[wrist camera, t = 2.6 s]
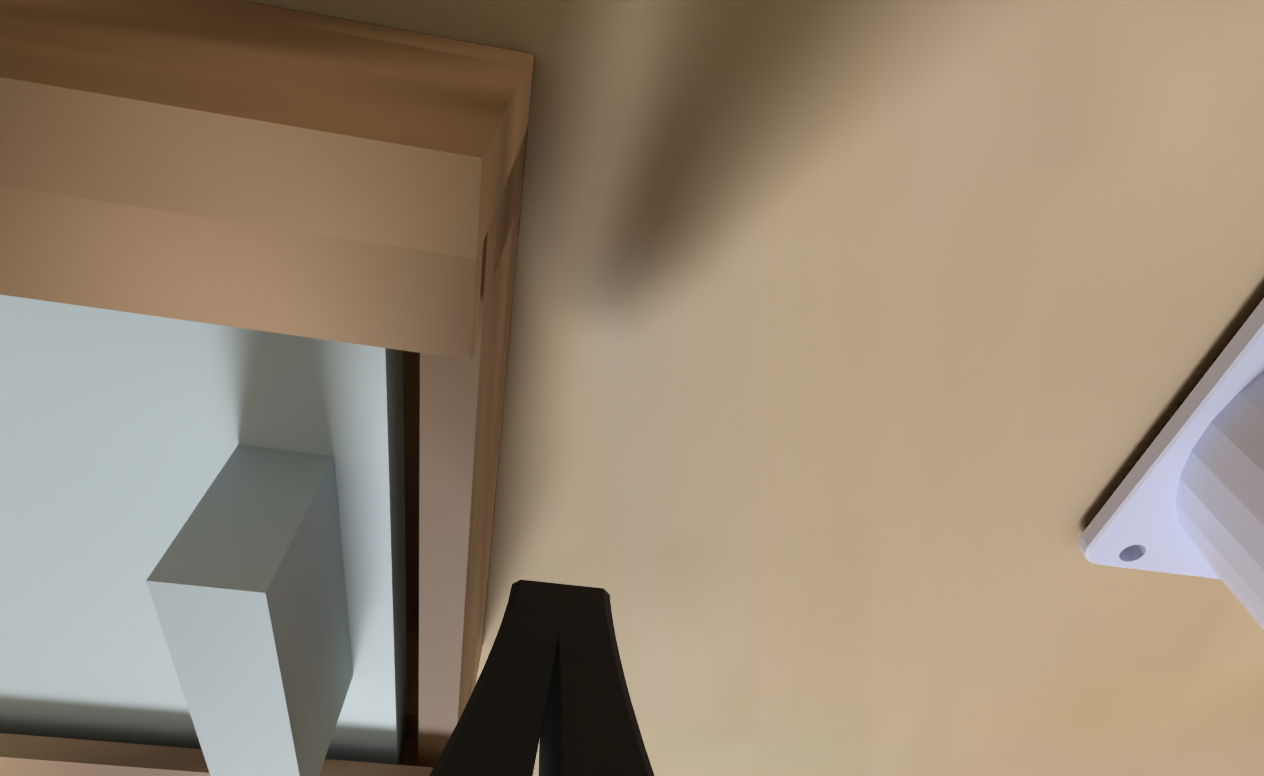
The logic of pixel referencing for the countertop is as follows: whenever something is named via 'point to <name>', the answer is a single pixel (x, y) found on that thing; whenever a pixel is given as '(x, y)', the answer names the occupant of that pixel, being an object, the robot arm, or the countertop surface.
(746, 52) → the countertop surface
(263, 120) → the box
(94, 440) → the lid
